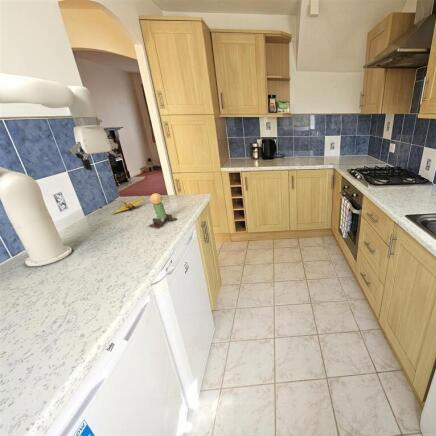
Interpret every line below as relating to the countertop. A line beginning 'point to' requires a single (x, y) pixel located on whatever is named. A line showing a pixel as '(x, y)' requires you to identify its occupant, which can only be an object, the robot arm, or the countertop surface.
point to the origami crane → (128, 205)
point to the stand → (158, 223)
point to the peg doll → (158, 205)
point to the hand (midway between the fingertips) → (102, 167)
